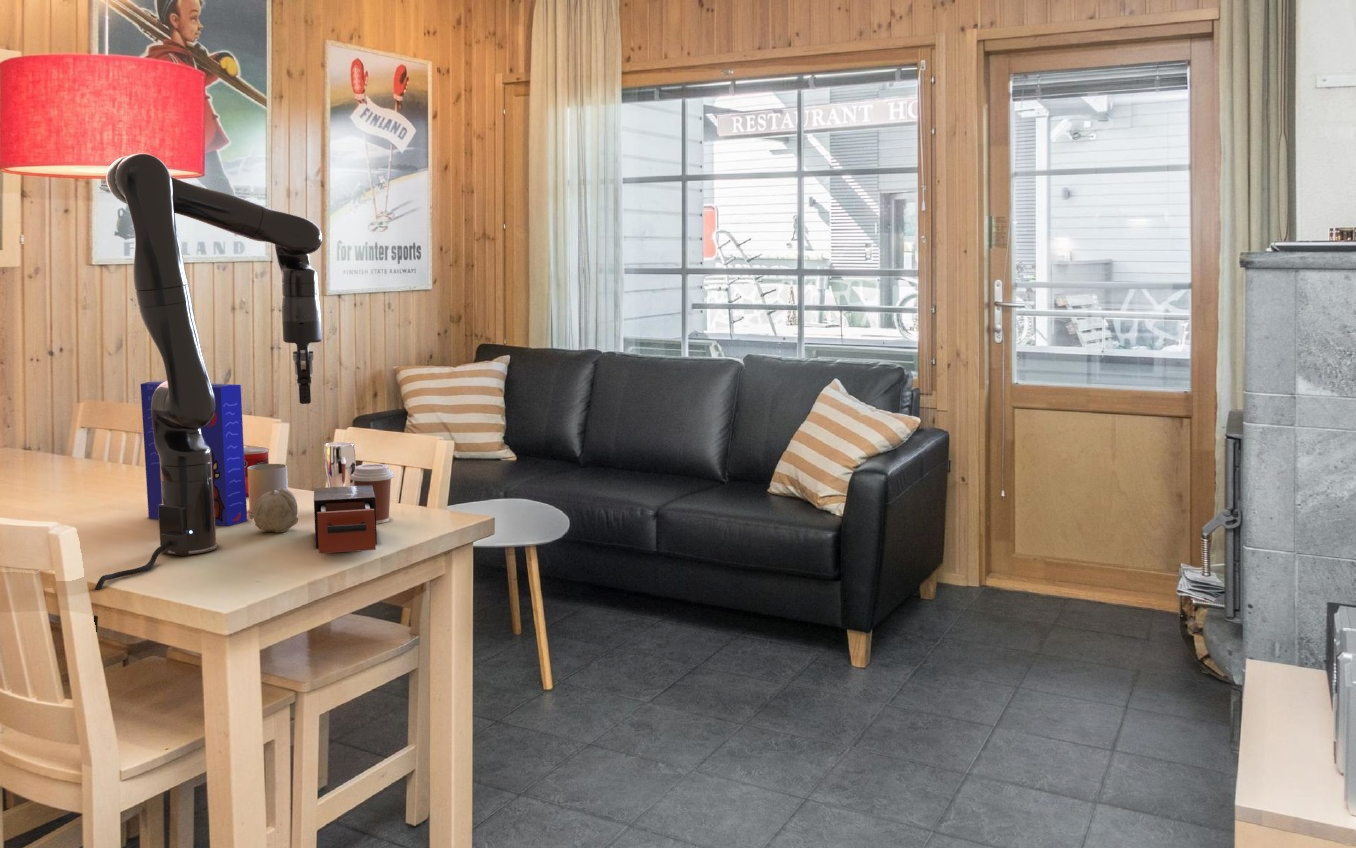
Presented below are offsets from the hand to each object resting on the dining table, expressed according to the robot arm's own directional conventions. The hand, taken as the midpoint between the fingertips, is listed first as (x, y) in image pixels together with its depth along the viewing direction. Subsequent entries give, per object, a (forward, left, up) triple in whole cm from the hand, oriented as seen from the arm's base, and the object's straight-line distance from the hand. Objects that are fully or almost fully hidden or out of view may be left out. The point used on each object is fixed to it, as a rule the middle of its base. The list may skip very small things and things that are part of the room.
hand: (305, 403), depth 233 cm
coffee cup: (+14, -5, -27) cm, 31 cm away
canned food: (+26, +42, -27) cm, 56 cm away
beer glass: (+21, +10, -27) cm, 36 cm away
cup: (+13, +24, -27) cm, 39 cm away
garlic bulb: (-3, +7, -27) cm, 28 cm away
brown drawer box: (-10, -18, -26) cm, 33 cm away
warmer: (-2, -11, -27) cm, 29 cm away
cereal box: (-1, +31, -27) cm, 41 cm away
